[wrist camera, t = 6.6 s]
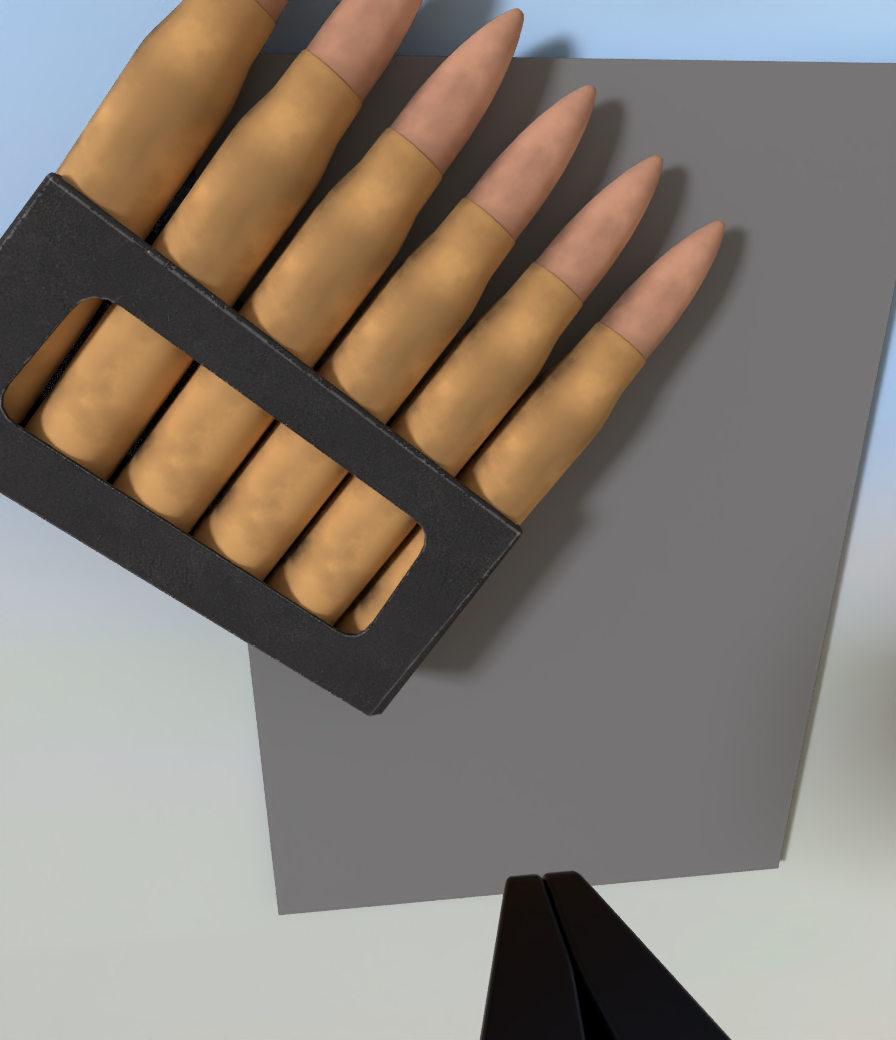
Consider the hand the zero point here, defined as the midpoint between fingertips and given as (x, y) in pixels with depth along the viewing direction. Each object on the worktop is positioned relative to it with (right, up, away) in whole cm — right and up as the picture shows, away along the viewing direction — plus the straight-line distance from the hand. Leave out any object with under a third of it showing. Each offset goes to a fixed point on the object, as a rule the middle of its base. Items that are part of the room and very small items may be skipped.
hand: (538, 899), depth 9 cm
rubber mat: (+1, +4, +9) cm, 10 cm away
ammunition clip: (-7, +3, +7) cm, 10 cm away
